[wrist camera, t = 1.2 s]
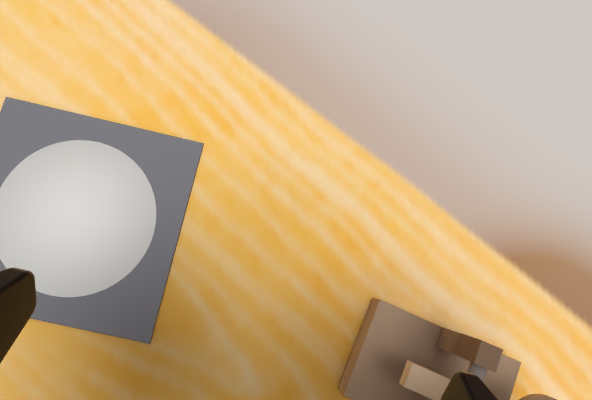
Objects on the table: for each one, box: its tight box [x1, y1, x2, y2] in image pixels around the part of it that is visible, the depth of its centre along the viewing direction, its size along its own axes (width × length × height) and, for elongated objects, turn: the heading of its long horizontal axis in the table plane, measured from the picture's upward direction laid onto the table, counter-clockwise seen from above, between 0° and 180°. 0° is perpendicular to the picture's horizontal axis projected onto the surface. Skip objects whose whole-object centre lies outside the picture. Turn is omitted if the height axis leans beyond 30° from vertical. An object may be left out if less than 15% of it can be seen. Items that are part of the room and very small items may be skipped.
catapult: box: [338, 298, 556, 400], centre depth 19 cm, size 8×5×8 cm, turn 66°
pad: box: [0, 97, 203, 344], centre depth 23 cm, size 11×11×1 cm
